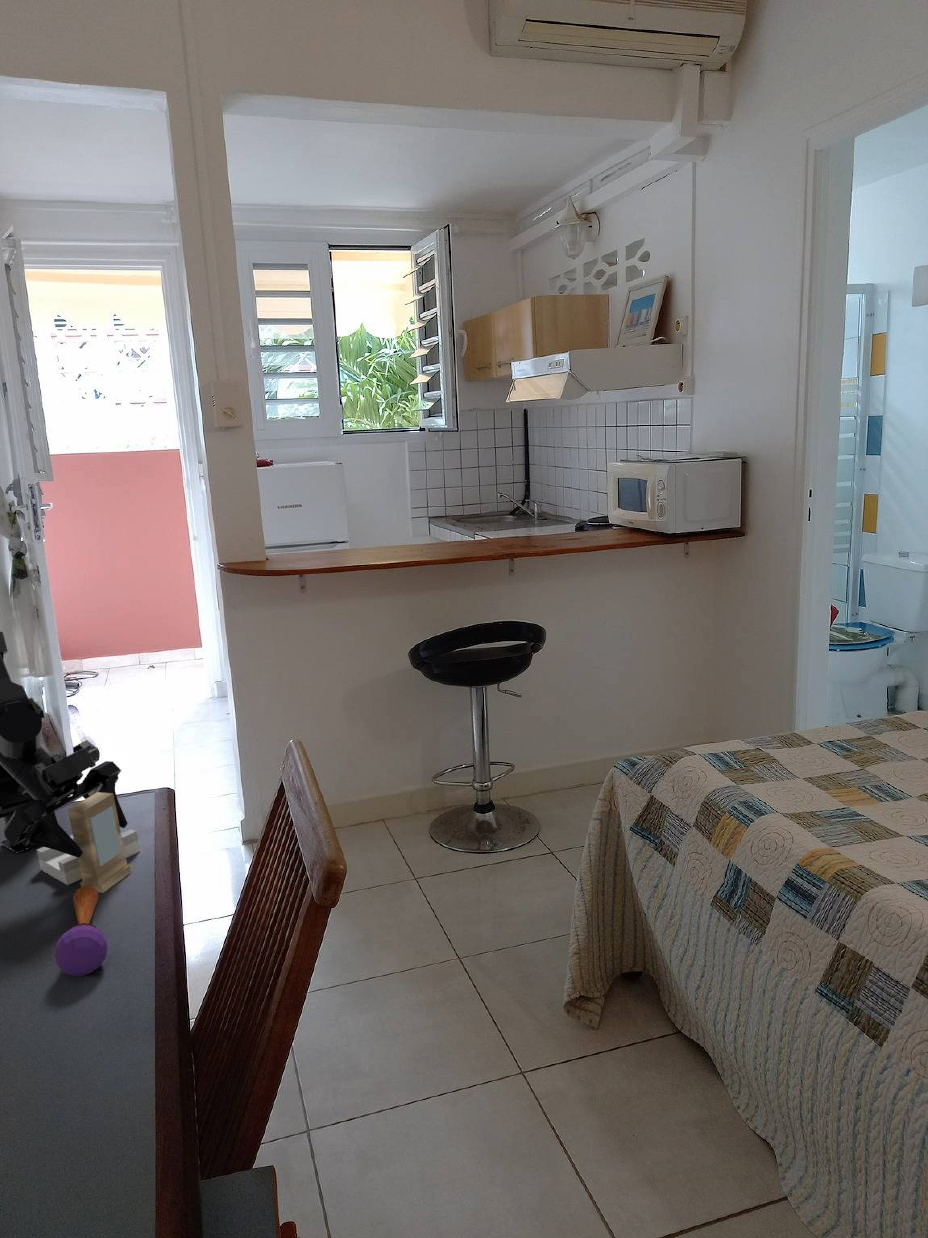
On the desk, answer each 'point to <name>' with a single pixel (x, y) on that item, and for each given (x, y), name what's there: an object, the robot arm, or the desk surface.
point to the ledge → (73, 875)
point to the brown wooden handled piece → (82, 938)
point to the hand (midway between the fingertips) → (104, 840)
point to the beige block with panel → (99, 841)
